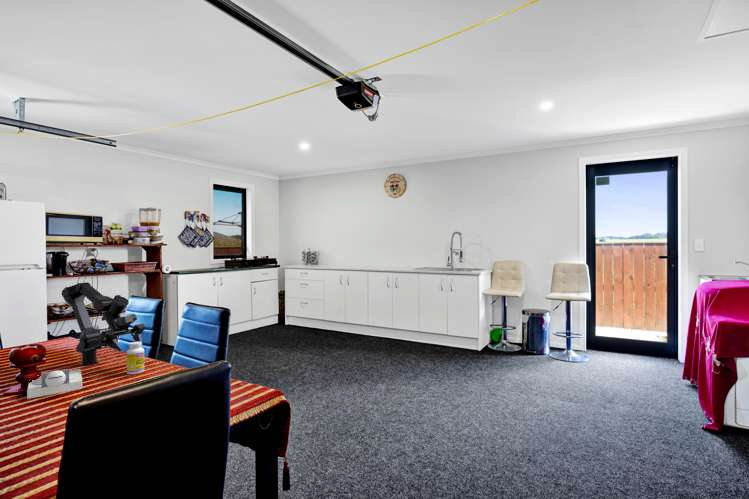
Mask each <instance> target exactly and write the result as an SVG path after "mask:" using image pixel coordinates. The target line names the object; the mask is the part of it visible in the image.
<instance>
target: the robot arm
mask: <svg viewBox="0 0 749 499" xmlns="http://www.w3.org/2000/svg"><path fill="white" fill-rule="evenodd" d="M61 296H62V297H63V299H64V301H65V303H67V304H68V305H70V306H71V309H72V311H73V314H74V316H75V320H76V322H77V325H78V327H79V330H80V336H79V339H78V340H79V342H78V344H77V345H76V347H75V350H76V353H80V354H81V362H80V366H81V367H84V366H91V365H99V360H98V350H101V349H103V345H105V346H107V347H110V348H113V349H115V350H116V351H119V352H122V347H121V345H120V343H119V342H118V340H117V338H116V337H121V336H126V335H130V336H132V339H133V340H134V342H142V343H143V339H142V334H143V333H144V331H145V330H146V329H147V327H146V325H145V324H144V323H139V324H134V326H133V327H132V328H130V327H131V326H132V324H133V323H135V322H136V321H137V319H138V318H137V314H135V313H132V314H130V315H125V316H121V315H122V314H124V312H125V310H126V308H127V307H128V305H129V303H130V302H129V299H128V298H126V297H124V296H122V295H120V294H118V295H117V294H115V295H114V297H113V298H112V297H111V296H107V295H103V294H102V293H101V292H99V291H98V290H97V289H96V288H94V287H93V286H92V284H91V283H90V282H78V283H76V284H73V285H71V286H66V287H64V288H63V289H62V290H61ZM85 298H86V299H87V300H89V302H91V303H92V305H93V306H92V307H93V309H94V310H95V311H96V313H103V314H102V316H101V321H105V323H107V325H108V327H107V330H102V331H101V330H100V329H99V328H95V327H94V325H93V322H92V321H91V318H90V315H89V312H88V310H87V308H86V307H87V306H86V304H85V302H84V301H85ZM142 346H143V344H142V345H141V347H142Z"/></svg>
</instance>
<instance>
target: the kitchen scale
mask: <svg viewBox="0 0 749 499" xmlns="http://www.w3.org/2000/svg"><path fill="white" fill-rule="evenodd" d="M40 375H41V376H40V377H39V378H38V379H36V380H32V382H30V383H29V382H28V385H27V386H28V387H27V390H26V394H27V395H26V396H27V397H26V398H27V400H28V399H33V398H35V399H36V398H39V397H44V396H51V395H55V394H61V393H66V392H72V391H78V390H81V389H83V376H82V371H81V368H76V369H70V368H64V369H59V370H52V371H47V372H46V371H45V372H41V374H40Z"/></svg>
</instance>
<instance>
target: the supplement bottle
mask: <svg viewBox="0 0 749 499" xmlns="http://www.w3.org/2000/svg"><path fill="white" fill-rule="evenodd" d="M141 345H142V346H143V341H142V342H136V341H132V342H128V347H129V348H128V349H127V350H126V374H128V375H137V374H142V373H143V372H144V371H145V349H144V347H142V346H141Z"/></svg>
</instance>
